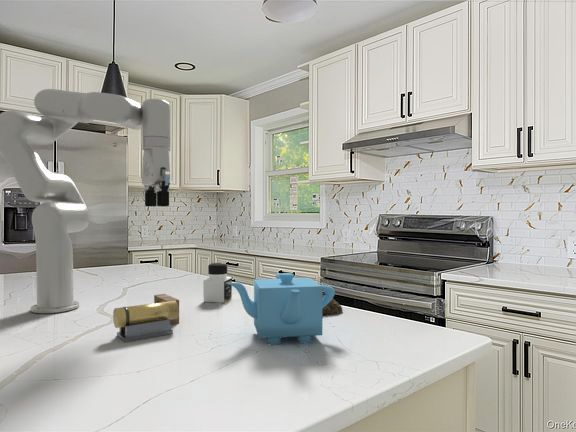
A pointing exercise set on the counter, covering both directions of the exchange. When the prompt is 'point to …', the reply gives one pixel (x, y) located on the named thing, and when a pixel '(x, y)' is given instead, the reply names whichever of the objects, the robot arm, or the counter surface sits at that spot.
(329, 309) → the bread roll
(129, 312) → the axle
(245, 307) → the teakettle
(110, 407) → the counter surface
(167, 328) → the cradle
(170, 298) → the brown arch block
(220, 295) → the medicine bottle
